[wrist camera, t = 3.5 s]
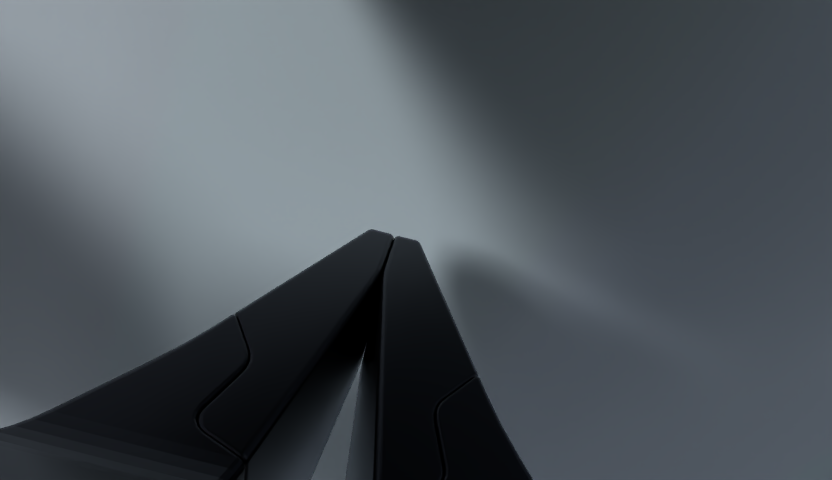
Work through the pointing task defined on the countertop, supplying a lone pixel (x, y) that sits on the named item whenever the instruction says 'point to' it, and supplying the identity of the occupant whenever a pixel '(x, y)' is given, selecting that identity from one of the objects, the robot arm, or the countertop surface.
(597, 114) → the countertop surface
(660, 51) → the countertop surface
